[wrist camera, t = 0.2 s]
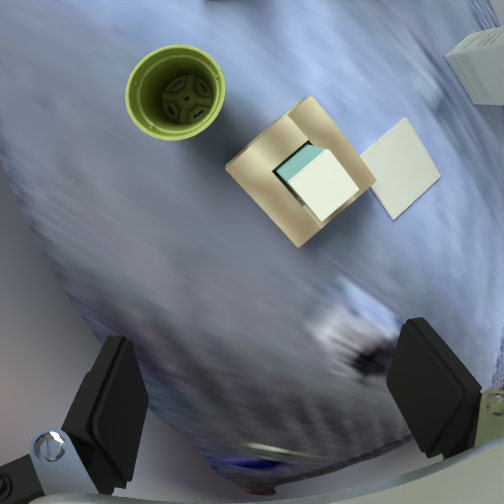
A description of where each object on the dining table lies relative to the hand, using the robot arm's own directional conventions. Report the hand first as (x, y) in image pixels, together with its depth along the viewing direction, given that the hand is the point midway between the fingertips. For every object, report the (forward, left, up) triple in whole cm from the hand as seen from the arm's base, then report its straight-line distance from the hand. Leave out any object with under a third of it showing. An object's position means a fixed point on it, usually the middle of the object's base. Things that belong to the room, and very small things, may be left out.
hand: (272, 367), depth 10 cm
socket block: (-7, +2, -30) cm, 31 cm away
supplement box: (-40, +7, -30) cm, 51 cm away
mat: (-18, +11, -30) cm, 37 cm away
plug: (-7, +2, -30) cm, 30 cm away
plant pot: (-3, -13, -30) cm, 33 cm away
